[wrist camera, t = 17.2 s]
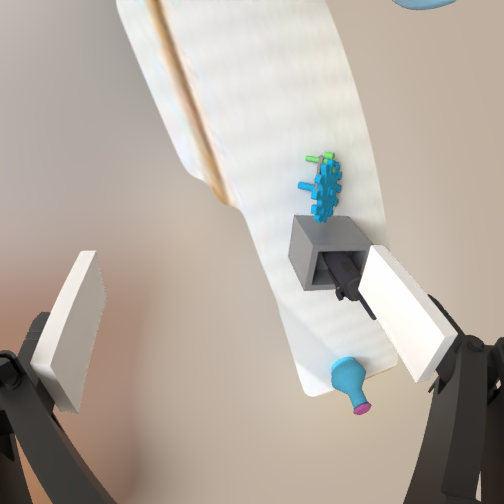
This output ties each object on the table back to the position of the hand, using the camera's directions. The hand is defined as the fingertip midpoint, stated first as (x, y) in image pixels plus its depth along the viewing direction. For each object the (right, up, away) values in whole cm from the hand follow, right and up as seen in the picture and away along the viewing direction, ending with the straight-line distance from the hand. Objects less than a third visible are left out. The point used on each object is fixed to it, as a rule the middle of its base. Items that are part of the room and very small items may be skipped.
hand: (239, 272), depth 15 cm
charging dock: (+12, +4, +41) cm, 43 cm away
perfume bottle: (+24, -28, +63) cm, 73 cm away
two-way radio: (+13, +1, +36) cm, 39 cm away
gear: (+11, +13, +36) cm, 40 cm away
